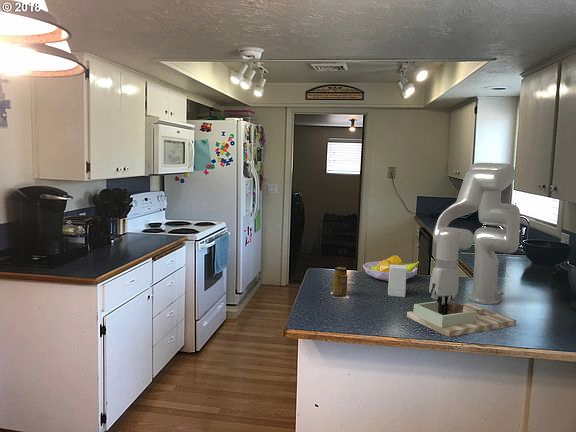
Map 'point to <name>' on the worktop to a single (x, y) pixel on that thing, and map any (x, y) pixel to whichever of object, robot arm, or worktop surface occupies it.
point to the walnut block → (454, 308)
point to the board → (481, 323)
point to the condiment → (340, 283)
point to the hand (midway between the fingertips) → (442, 313)
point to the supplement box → (397, 280)
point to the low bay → (430, 315)
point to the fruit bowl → (382, 268)
